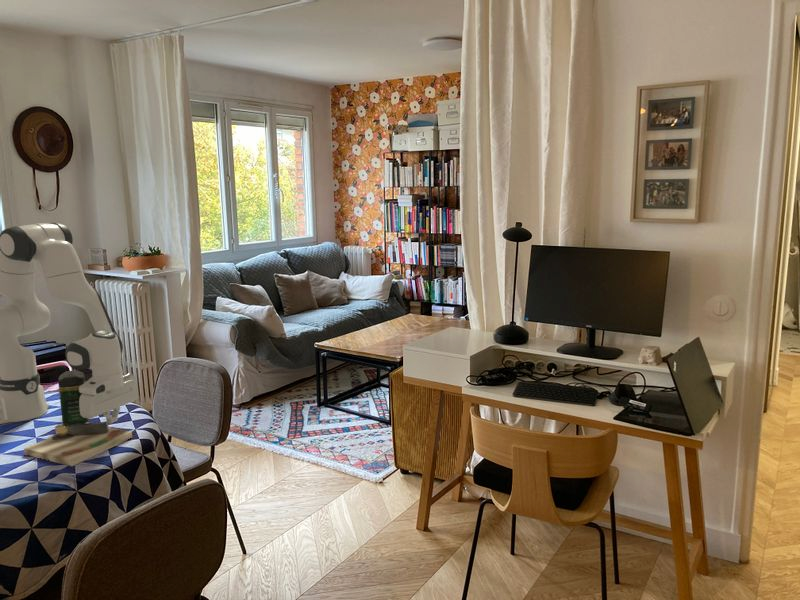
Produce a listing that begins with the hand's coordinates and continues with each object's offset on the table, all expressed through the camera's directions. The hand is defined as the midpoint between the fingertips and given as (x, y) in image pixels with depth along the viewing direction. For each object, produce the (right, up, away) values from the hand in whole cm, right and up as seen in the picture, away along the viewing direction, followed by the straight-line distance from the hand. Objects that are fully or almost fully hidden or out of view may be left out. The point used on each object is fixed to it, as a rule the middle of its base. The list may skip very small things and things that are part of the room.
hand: (112, 421), depth 202 cm
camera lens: (-19, +1, +26) cm, 32 cm away
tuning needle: (-7, -2, -6) cm, 9 cm away
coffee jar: (-15, -3, +6) cm, 16 cm away
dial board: (-6, -6, -9) cm, 12 cm away
